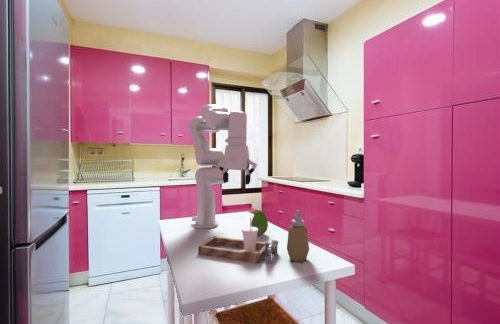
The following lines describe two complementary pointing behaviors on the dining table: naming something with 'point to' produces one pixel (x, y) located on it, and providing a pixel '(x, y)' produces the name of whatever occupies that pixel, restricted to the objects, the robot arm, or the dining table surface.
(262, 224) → the avocado
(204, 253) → the bay
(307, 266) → the dining table surface
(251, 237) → the smoothie
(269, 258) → the grey metal handle
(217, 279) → the dining table surface
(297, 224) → the squeeze bottle
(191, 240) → the dining table surface
